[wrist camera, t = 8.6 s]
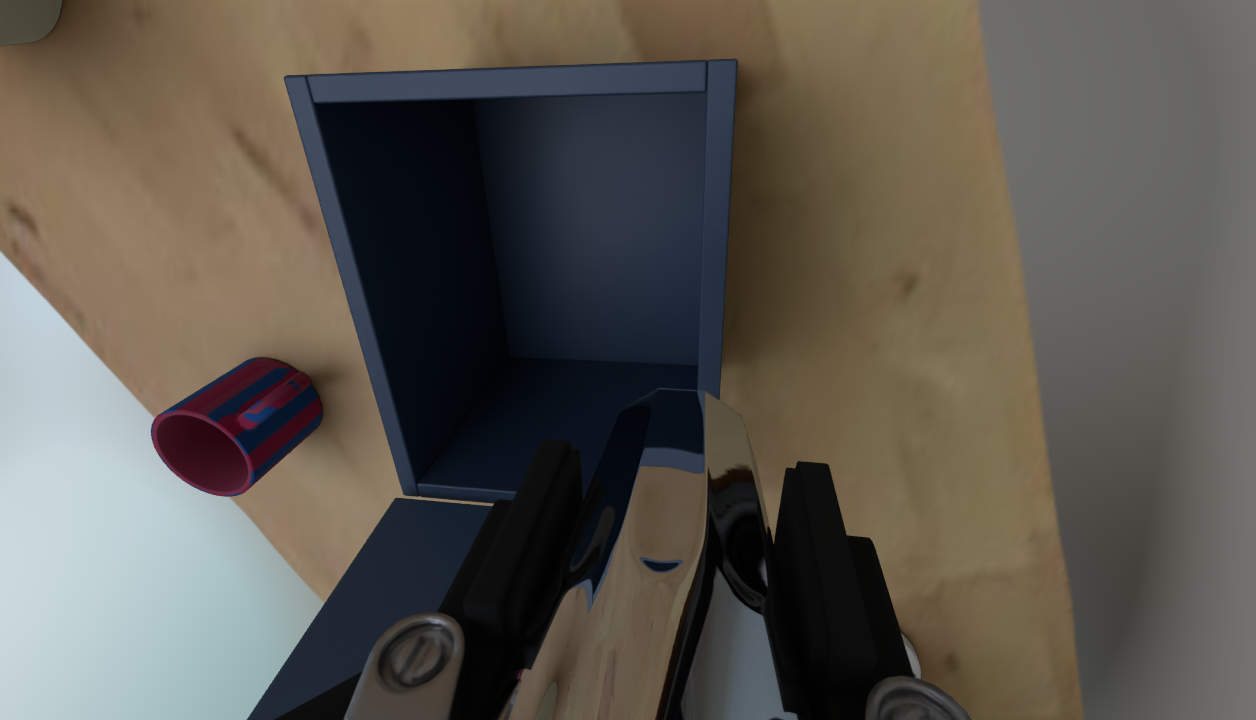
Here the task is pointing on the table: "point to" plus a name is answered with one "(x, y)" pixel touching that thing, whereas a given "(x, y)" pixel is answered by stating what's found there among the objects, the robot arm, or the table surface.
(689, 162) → the chest
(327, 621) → the chest lid
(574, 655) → the milkshake
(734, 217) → the table surface
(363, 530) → the table surface
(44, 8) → the reusable coffee cup
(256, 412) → the cup
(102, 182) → the table surface
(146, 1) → the table surface
